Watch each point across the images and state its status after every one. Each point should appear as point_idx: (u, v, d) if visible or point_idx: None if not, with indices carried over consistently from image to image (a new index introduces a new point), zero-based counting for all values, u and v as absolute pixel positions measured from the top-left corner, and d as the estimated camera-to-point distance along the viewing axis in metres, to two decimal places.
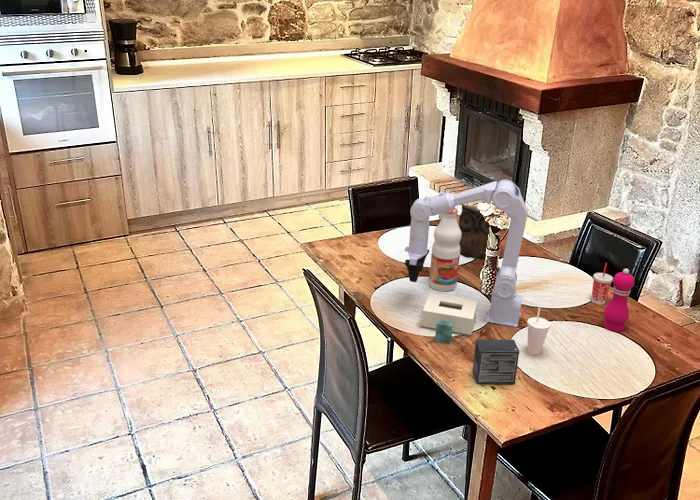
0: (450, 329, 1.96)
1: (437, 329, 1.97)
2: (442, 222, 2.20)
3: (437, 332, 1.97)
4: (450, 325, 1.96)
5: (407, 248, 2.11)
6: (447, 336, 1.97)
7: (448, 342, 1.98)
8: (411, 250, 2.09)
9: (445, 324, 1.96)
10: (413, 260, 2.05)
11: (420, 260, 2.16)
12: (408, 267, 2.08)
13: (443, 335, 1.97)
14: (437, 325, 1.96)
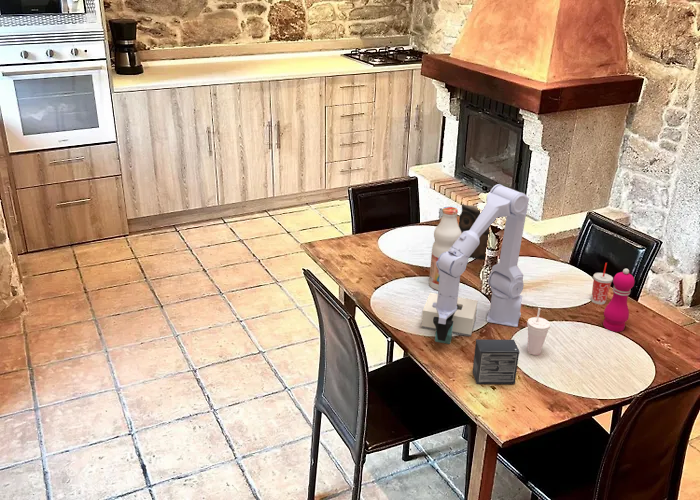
0: (450, 329, 1.96)
1: None
2: (442, 222, 2.20)
3: None
4: None
5: (435, 304, 1.95)
6: (447, 336, 1.97)
7: (448, 342, 1.98)
8: (440, 307, 1.92)
9: None
10: (442, 319, 1.88)
11: (448, 316, 2.00)
12: (436, 325, 1.92)
13: None
14: None
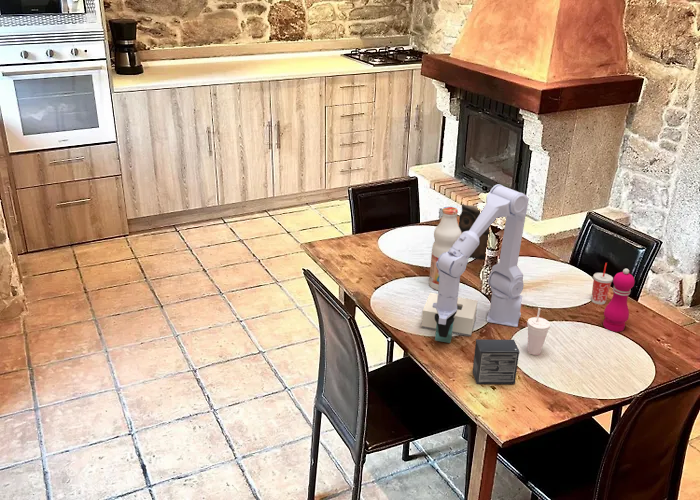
0: (450, 328, 1.95)
1: (437, 328, 1.97)
2: (442, 222, 2.20)
3: (437, 331, 1.97)
4: None
5: (435, 304, 1.95)
6: (447, 335, 1.97)
7: (448, 341, 1.97)
8: (440, 307, 1.93)
9: None
10: (442, 319, 1.88)
11: None
12: (438, 322, 1.94)
13: None
14: None
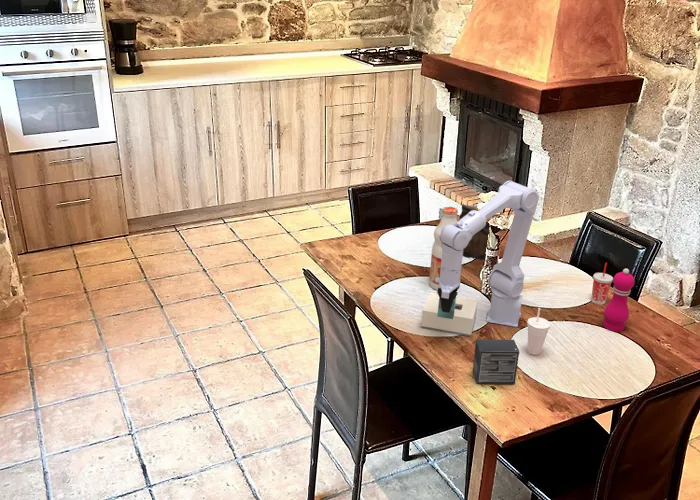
0: (453, 304, 1.93)
1: (440, 304, 1.94)
2: (442, 222, 2.20)
3: (440, 307, 1.94)
4: (453, 300, 1.93)
5: (438, 279, 1.92)
6: (450, 311, 1.94)
7: (451, 317, 1.95)
8: (442, 281, 1.90)
9: None
10: (445, 293, 1.85)
11: None
12: (441, 297, 1.91)
13: None
14: None
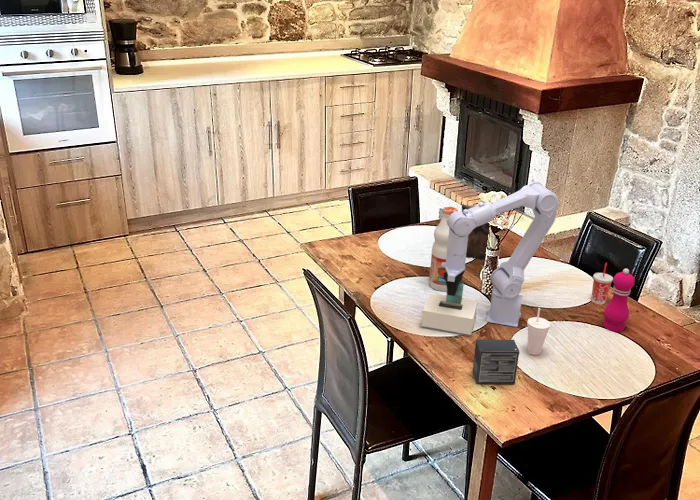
0: (461, 289, 2.02)
1: None
2: (442, 222, 2.20)
3: None
4: (461, 285, 2.02)
5: (444, 263, 2.01)
6: (457, 296, 2.03)
7: (459, 302, 2.04)
8: (448, 266, 1.99)
9: None
10: (451, 277, 1.94)
11: None
12: (447, 280, 2.00)
13: None
14: None
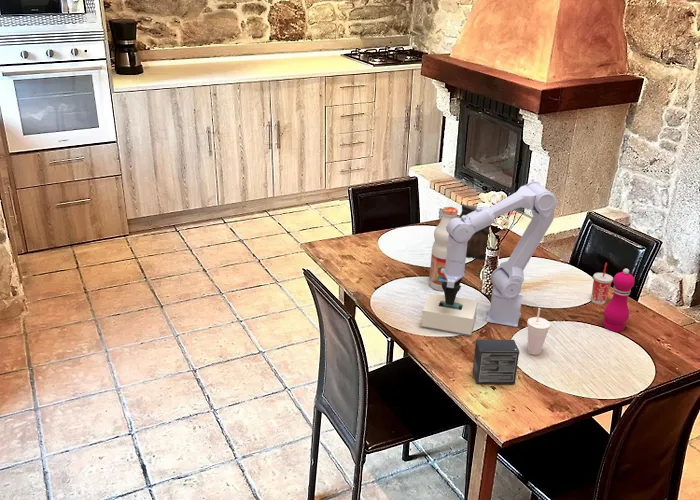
0: None
1: None
2: (442, 222, 2.20)
3: None
4: (457, 306, 2.05)
5: (443, 269, 2.02)
6: None
7: None
8: (448, 272, 2.00)
9: (452, 305, 2.05)
10: (451, 283, 1.95)
11: (456, 281, 2.07)
12: (445, 290, 1.99)
13: None
14: (444, 306, 2.06)
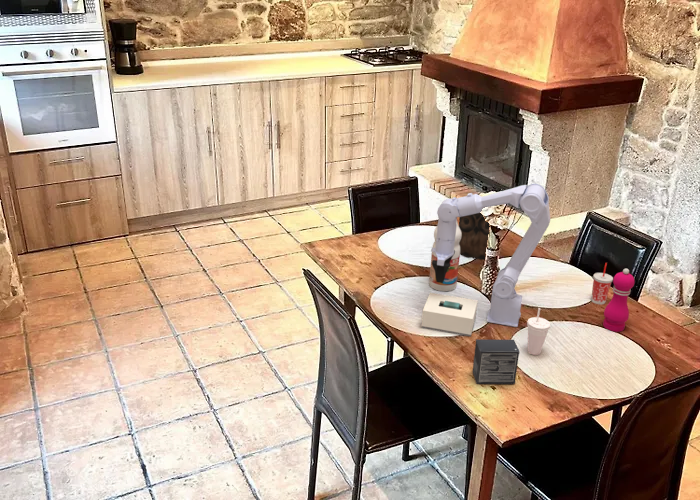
0: None
1: None
2: None
3: None
4: (457, 306, 2.05)
5: (433, 249, 2.11)
6: None
7: None
8: (438, 251, 2.08)
9: (452, 305, 2.05)
10: (441, 261, 2.04)
11: (446, 261, 2.15)
12: (435, 268, 2.07)
13: None
14: (444, 306, 2.06)
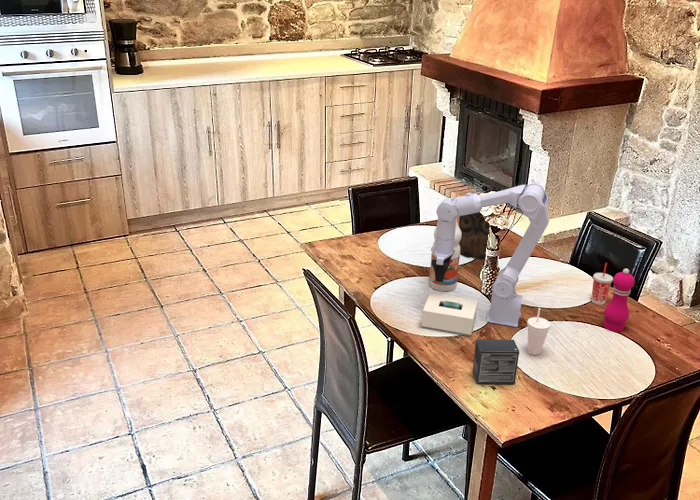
0: None
1: None
2: None
3: None
4: (457, 306, 2.05)
5: (433, 248, 2.11)
6: None
7: None
8: (437, 250, 2.09)
9: (452, 305, 2.05)
10: (440, 260, 2.04)
11: (445, 260, 2.16)
12: (434, 267, 2.08)
13: None
14: (444, 306, 2.06)
